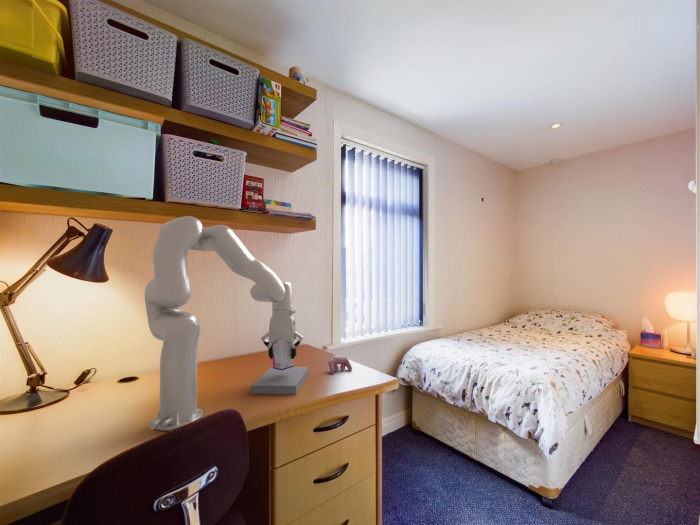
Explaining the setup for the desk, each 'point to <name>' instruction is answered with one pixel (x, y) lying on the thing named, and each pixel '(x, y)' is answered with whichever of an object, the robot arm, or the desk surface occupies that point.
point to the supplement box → (282, 355)
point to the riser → (280, 381)
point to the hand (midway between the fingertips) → (282, 357)
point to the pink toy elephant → (339, 360)
